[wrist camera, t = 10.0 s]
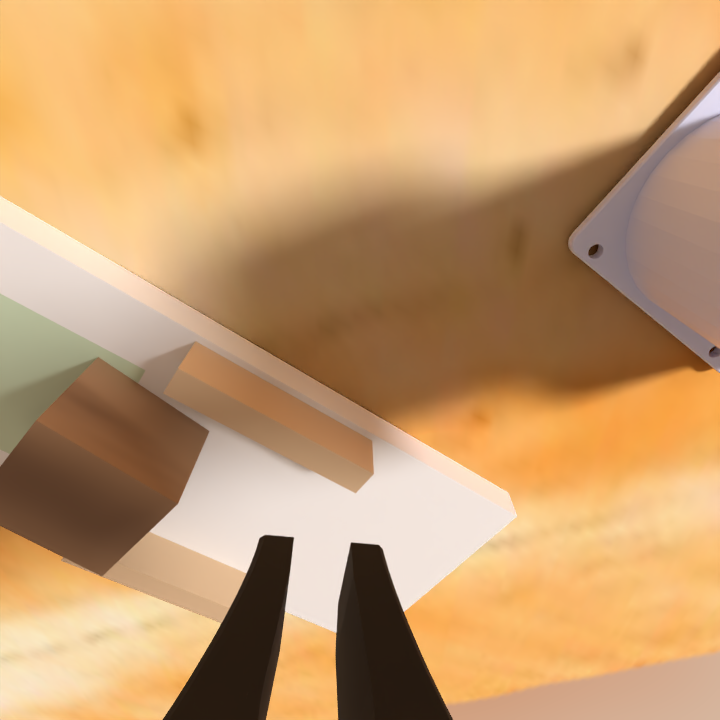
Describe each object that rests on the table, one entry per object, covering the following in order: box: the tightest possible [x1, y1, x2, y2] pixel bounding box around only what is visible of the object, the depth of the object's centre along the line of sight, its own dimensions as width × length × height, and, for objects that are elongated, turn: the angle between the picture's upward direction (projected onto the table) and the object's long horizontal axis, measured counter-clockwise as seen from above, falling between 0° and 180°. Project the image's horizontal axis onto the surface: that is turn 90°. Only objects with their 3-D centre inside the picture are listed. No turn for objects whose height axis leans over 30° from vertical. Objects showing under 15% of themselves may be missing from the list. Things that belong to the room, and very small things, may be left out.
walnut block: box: [0, 357, 209, 576], centre depth 18 cm, size 5×5×4 cm
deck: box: [0, 196, 517, 633], centre depth 20 cm, size 32×12×4 cm, turn 55°
